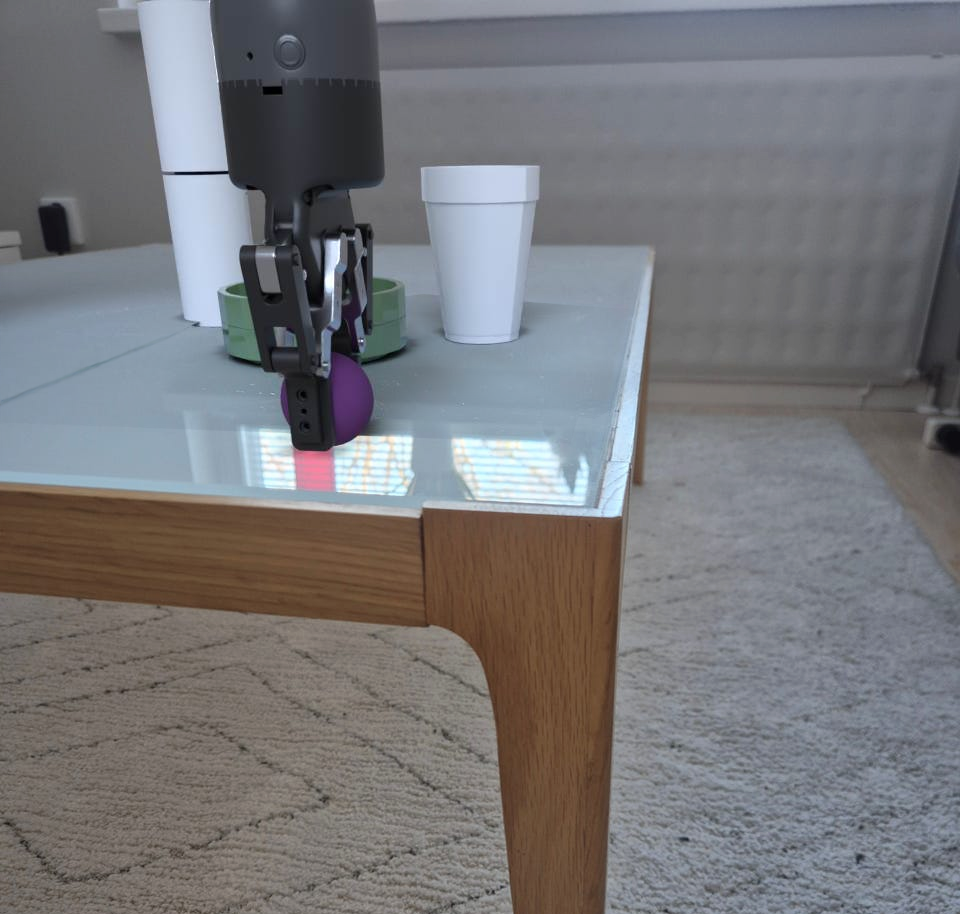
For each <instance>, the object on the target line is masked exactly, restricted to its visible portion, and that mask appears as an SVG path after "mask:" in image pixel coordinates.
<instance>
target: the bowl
mask: <svg viewBox="0 0 960 914" xmlns="http://www.w3.org/2000/svg"><path fill="white" fill-rule="evenodd" d="M405 287H406V286H405V284H404V283H403V281H401V280H397V279H394V278H390V277H381V276H375V275H373V323H374V327H373V330H372V334H371V335H364V336H365V339H366V346H365V349H364V352H363V353H358V355H361V364H362V363H366V362H370V361H374V360H378V359H381V358H383V357H385V356H387V355H388V354H389V353H392V352H396V351H399V350H401V349H403V348H404V347H405V346H406V345H407V344H408V330H407V329H408V328H407V315H406V314H407V308H406V307H407V305H406V288H405ZM217 293H218V301H219V308H220V316H221V321H222V322H221V323H222V327H221V330H222V337H223V345H224V351H225V352H227V353H228V354H229V355H231V356H232V357H236V358H239V359H244V360H247V361H249V362H251V363H254V364H257V365H262V363H261V358H260V354H259V349H258V345H257V340H256V335H255V331H254V326H253V322H252V317H251V312H250V308H249V303H248V299H247V294H246V289H245V285H244V281H243V282H237V283H232V284H229V285H226V286H223V287H220V288H219V290H218V291H217ZM346 294H350V292H349V290H347V291H346ZM273 328H274V333H275V338H276V329H275V327H273ZM313 333H314V331H313ZM294 347H297V342H296V337H295V334H294Z"/></svg>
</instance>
